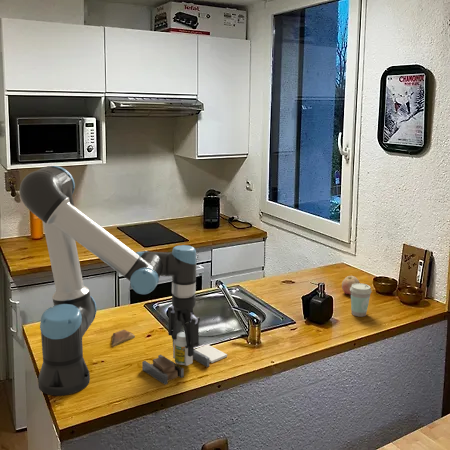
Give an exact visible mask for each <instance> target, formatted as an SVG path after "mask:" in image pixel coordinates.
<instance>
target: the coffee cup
mask: <svg viewBox="0 0 450 450" xmlns="http://www.w3.org/2000/svg"><path fill="white" fill-rule="evenodd" d="M350 291H351V295H350V305H351V308H350V310H351V315H353V316H355V317H363V318H364V317H366V316H367V312H368V308H369V303H370V302H369V301H370V298H371V293H373V291H372V288H371V286H370V285H368V284H366V283H356V284H352V286H351V288H350Z"/></svg>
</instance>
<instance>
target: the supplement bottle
mask: <svg viewBox="0 0 450 450" xmlns="http://www.w3.org/2000/svg"><path fill="white" fill-rule="evenodd" d="M185 346H187V344H186V337H185V331H181V332H180V333H178V334H177V340H176V341H175V359H174V363H176V364H177V365H179V366H181V365H182V366H186V365H185Z"/></svg>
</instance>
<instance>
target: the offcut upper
mask: <svg viewBox="0 0 450 450" xmlns="http://www.w3.org/2000/svg"><path fill="white" fill-rule="evenodd" d="M162 356H163V357H160V358H158V357H156V358H153V359H152V364H153V366H155V367H156V368H157V369H159V370H161V371H162V372H164V373H165V374H166V373H170V372H173V371H175V365H174V364H173V363H171V362H170V361H169V360H170V359H169V358H168V357H166V358H165V356H164V355H162ZM168 359H169V360H168Z"/></svg>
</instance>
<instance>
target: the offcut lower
mask: <svg viewBox="0 0 450 450" xmlns="http://www.w3.org/2000/svg"><path fill="white" fill-rule="evenodd" d="M150 364H151V365H153V363H150ZM154 367H155V366H154ZM166 374H167V375H168V381H171V380H174V379H176V378H178V377H179V376H178V371H177V370H175V371H173V372H170V373H166Z"/></svg>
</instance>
